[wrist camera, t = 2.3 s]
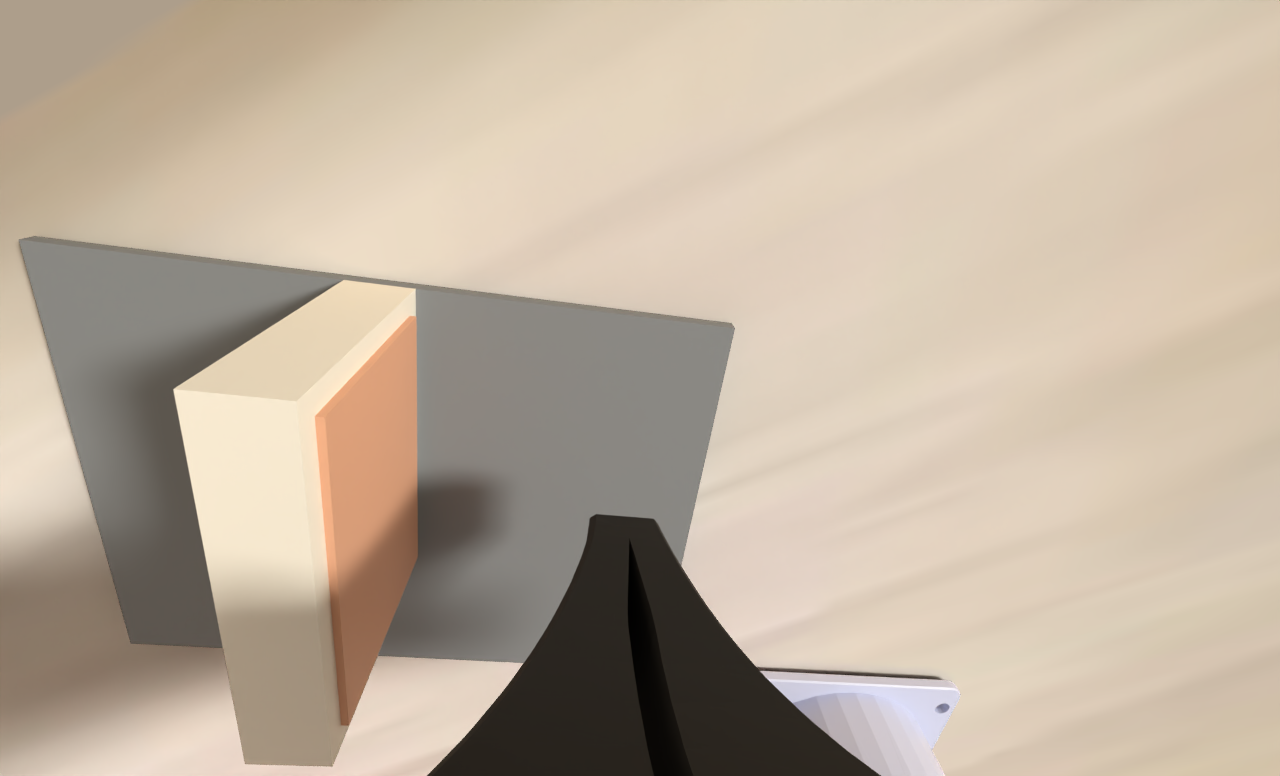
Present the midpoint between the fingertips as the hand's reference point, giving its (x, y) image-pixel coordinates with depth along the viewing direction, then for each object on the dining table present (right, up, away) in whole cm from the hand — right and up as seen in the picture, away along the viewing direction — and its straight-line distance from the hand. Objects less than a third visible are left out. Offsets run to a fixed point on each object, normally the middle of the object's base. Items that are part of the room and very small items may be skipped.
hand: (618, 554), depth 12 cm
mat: (-6, +1, +4) cm, 7 cm away
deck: (-6, +2, +3) cm, 7 cm away
